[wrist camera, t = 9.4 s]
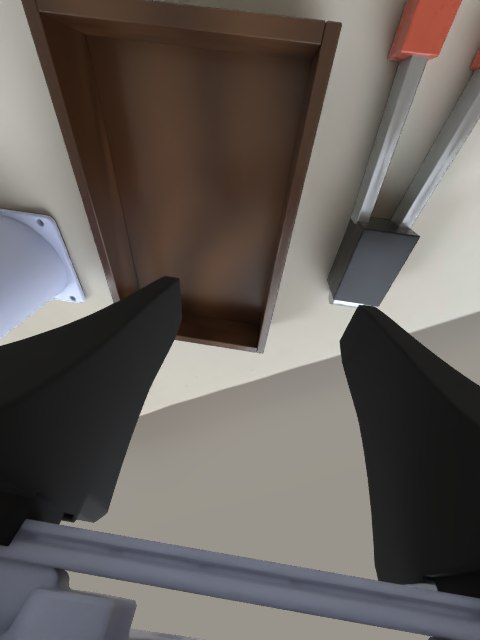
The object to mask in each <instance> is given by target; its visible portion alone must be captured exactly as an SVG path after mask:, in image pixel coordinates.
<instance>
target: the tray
mask: <svg viewBox="0 0 480 640" xmlns="http://www.w3.org/2000/svg"><path fill="white" fill-rule="evenodd" d="M21 1H22V4H23V8H24V11H25V14H26V17H27V21H28V24H29V27H30V31H31V34H32V37H33V40H34V44H35V47H36V50H37V53H38V57H39V60H40V63H41V67H42V70H43V73H44V76H45V80H46V83H47V86H48V89H49V93H50V96H51V99H52V103H53V106H54V109H55V112H56V116H57V119H58V122H59V125H60V129H61V132H62V135H63V139H64V142H65V145H66V148H67V152H68V155H69V158H70V161H71V165H72V168H73V171H74V175H75V178H76V181H77V184H78V188H79V191H80V194H81V197H82V201H83V204H84V207H85V211H86V214H87V217H88V220H89V224H90V227H91V230H92V233H93V237H94V240H95V243H96V247H97V250H98V253H99V256H100V260H101V263H102V266H103V269H104V273H105V276H106V279H107V282H108V286H109V289H110V292H111V296H112V299H113V302H114V303H115V302H117V301H119V300H121V299H123V298H125V297H127V296H129V295H131V294H132V293H134V292H136V291H138V290H140V289H141V288H143V287H145V286H147V285H148V284H150V283H152V282H154V281H156V280H157V279H159V278H161V277H163V276H169V277H176V278H179V279H180V292H181V305H182V320H181V323H180V326H179V329H178V332H177V335H176V338H175V340H179V341H186V342H192V343H198V344H205V345H211V346H217V347H224V348H230V349H236V350H243V351H249V352H257V353H262V354H263V352H264V348H265V344H266V340H267V336H268V331H269V327H270V323H271V319H272V315H273V311H274V306H275V302H276V298H277V294H278V290H279V286H280V281H281V277H282V273H283V269H284V265H285V261H286V256H287V252H288V248H289V244H290V240H291V235H292V231H293V227H294V223H295V219H296V215H297V210H298V206H299V202H300V198H301V194H302V190H303V185H304V181H305V177H306V173H307V169H308V165H309V160H310V156H311V152H312V148H313V144H314V140H315V135H316V131H317V127H318V123H319V119H320V115H321V110H322V106H323V102H324V98H325V94H326V90H327V85H328V81H329V77H330V73H331V69H332V65H333V60H334V56H335V52H336V48H337V44H338V39H339V35H340V31H341V27H342V23H341V22H333V21H327V22H326V23H325V20H317V19H309V18H300V17H291V16H282V15H273V14H265V13H256V12H247V11H238V10H230V9H221V8H212V7H203V6H195V5H186V4H177V3H168V2H159V1H151V0H21Z"/></svg>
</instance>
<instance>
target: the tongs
mask: <svg viewBox="0 0 480 640" xmlns="http://www.w3.org/2000/svg"><path fill="white" fill-rule="evenodd" d="M461 1H462V0H407V2H406V5H405V8H404V11H403V14H402V17H401V20H400V23H399V26H398V29H397V32H396V35H395V37H394V40H393V43H392V46H391V49H390V52H389V55H388V60H392V61H400V63H399V66H398V69H397V72H396V75H395V78H394V82H393V85H392V88H391V91H390V94H389V98H388V101H387V104H386V107H385V110H384V114H383V117H382V120H381V123H380V126H379V130H378V133H377V136H376V139H375V142H374V145H373V149H372V152H371V155H370V158H369V161H368V165H367V168H366V171H365V174H364V177H363V181H362V184H361V187H360V190H359V193H358V196H357V200H356V203H355V206H354V209H353V212H352V216H351V219H350V222H349V224H348V227H347V229H346V232H345V235H344V237H343V240H342V242H341V245H340V248H339V250H338V253H337V255H336V258H335V261H334V263H333V266H332V268H331V271H330V274H329V276H328V279H327V282H328V285H329V288H330V291H329V303H330V304H333V305H340V306H347V307H353V308H357V307H358V305H371V306H379V305H380V303H381V302H382V300H383V298H384V297H385V295H386V293H387V292H388V290H389V288H390V287H391V285H392V283H393V282H394V280H395V278H396V277H397V275H398V273H399V271H400V270H401V268H402V266H403V265H404V263H405V261H406V260H407V258H408V256H409V255H410V253H411V251H412V250H413V248H414V246H415V245H416V243H417V241H418V240H419V238H420V236H419V235H418V234H416V233H415V232H414V231H412V230H411V229H410V228H411V226H412V224H413V223H414V221H415V220H416V218H417V217H418V215H419V213H420V212H421V210H422V209H423V207H424V205H425V204H426V202H427V201H428V199H429V197H430V196H431V194H432V193H433V191H434V190H435V188H436V186H437V185H438V183H439V182H440V180H441V178H442V177H443V175H444V174H445V172H446V171H447V169H448V167H449V166H450V164H451V163H452V161H453V159H454V158H455V156H456V155H457V153H458V152H459V150H460V148H461V147H462V145H463V144H464V142H465V140H466V139H467V137H468V136H469V134H470V132H471V131H472V129H473V128H474V126H475V125H476V123H477V121H478V120H479V118H480V49H479V51H478V53H477V55H476V57H475V59H474V61H473V63H472V65H471V67H470V70H475V71H474V73H473V75H472V77H471V78H470V80H469V82H468V84H467V86H466V87H465V89H464V91H463V93H462V94H461V96H460V98H459V100H458V101H457V103H456V105H455V107H454V109H453V110H452V112H451V114H450V116H449V117H448V119H447V121H446V123H445V125H444V126H443V128H442V130H441V132H440V133H439V135H438V137H437V139H436V140H435V142H434V144H433V146H432V148H431V149H430V151H429V153H428V155H427V156H426V158H425V160H424V162H423V163H422V165H421V167H420V169H419V171H418V172H417V174H416V176H415V178H414V179H413V181H412V183H411V185H410V186H409V188H408V190H407V192H406V194H405V195H404V197H403V199H402V201H401V202H400V204H399V206H398V208H397V210H396V211H395V213H394V215H393V217H392V218H391V220H388V219H381V218H374V217H370V216H371V214H372V211H373V208H374V205H375V203H376V200H377V197H378V194H379V192H380V189H381V186H382V183H383V181H384V178H385V175H386V172H387V170H388V167H389V164H390V161H391V159H392V156H393V153H394V150H395V148H396V145H397V142H398V139H399V137H400V134H401V131H402V128H403V126H404V123H405V120H406V117H407V115H408V112H409V109H410V106H411V104H412V101H413V98H414V95H415V93H416V90H417V87H418V84H419V82H420V79H421V76H422V73H423V71H424V68H425V65H426V62H427V61H428V60H430V59H432V58H435V57H437V56H438V55H439V53H440V50H441V48H442V46H443V43H444V41H445V39H446V36H447V34H448V32H449V29H450V27H451V25H452V22H453V20H454V18H455V15H456V13H457V11H458V8H459V6H460V4H461Z"/></svg>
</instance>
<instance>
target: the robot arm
mask: <svg viewBox="0 0 480 640" xmlns="http://www.w3.org/2000/svg"><path fill="white" fill-rule="evenodd" d="M41 221H42V222H43V223H42V222H41ZM51 299H57V300H63V301H70V302H76V303H83V302H84V301H85V300H86V298H85V295H84V293H83V290H82V288H81V285H80V283H79V280H78V278H77V275H76V273H75V270H74V267H73V265H72V262H71V260H70V257H69V255H68V252H67V250H66V247H65V245H64V242H63V240H62V237H61V235H60V232H59V229H58V227H57V224H56V222H55V220H54V219H53V218H51V217H50V216H47V215H41V214H34V213H27V212H20V211H13V210H6V209H0V339H1V338H2V337H4V336H5V335H6V334H8V333H9V332H10V331H11V330H13V329H14V328H15V327H17V326H18V325H19V324H20V323H22V322H23V321H24V320H26V319H27V318H28V317H30V316H31V315H32V314H33V313H35V312H36V311H37V310H39V309H40V308H41V307H42V306H44V305H45V304H46V303H48V302H49V301H50V300H51ZM181 320H182V305H181V292H180V279H179V278H176V277H169V276H163V277H161V278H159V279H157V280H156V281H154V282H152V283H150V284H148V285H147V286H145V287H143V288H141V289H140V290H138V291H136V292H134V293H132V294H131V295H129V296H127V297H125V298H123V299H121V300H119V301H117V302H115V303H113V304H112V305H110V306H108V307H106V308H104V309H102V310H100V311H97V312H95V313H93V314H91V315H89V316H86V317H84V318H82V319H79V320H77V321H74V322H72V323H69V324H67V325H64V326H61V327H59V328H56V329H53V330H50V331H47V332H44V333H41V334H38V335H35V336H32V337H29V338H26V339H23V340H20V341H16V342H13V343H9V344H6V345H3V346H0V640H204V639H197V638H191V637H184V636H177V635H171V634H163V633H157V632H150V631H143V630H137V629H130V627H131V623H132V620H133V617H134V613H135V610H136V606H137V605H136V602H135V601H134V600H130V599H125V598H121V597H116V596H111V595H106V594H101V593H94V592H87V591H79V590H71V589H70V587H69V575H68V573H67V572H66V571H65V570H68V571H73V572H78V573H84V574H89V575H95V576H100V577H106V578H111V579H117V580H123V581H128V582H134V583H140V584H145V585H150V586H156V587H161V588H167V589H172V590H178V591H183V592H189V593H194V594H200V595H206V596H212V597H217V598H222V599H228V600H233V601H239V602H244V603H250V604H256V605H261V606H266V607H272V608H277V609H283V610H289V611H295V612H300V613H306V614H311V615H316V616H322V617H327V618H333V619H338V620H344V621H350V622H355V623H361V624H367V625H372V626H377V627H383V628H388V629H394V630H400V631H405V632H410V633H416V634H421V635H427V636H433V637H430V638H429V639H428V640H480V386H479V385H477V384H476V383H474V382H473V381H471V380H470V379H468V378H467V377H465V376H464V375H462V374H461V373H460V372H458V371H457V370H455V369H454V368H452V367H451V366H450V365H448V364H447V363H446V362H444V361H443V360H442V359H440V358H439V357H437V356H436V355H435V354H434V353H432V352H431V351H430V350H429V349H427V348H426V347H425V346H423V345H422V344H421V343H419V342H418V341H417V340H416V339H415V338H414V337H412V336H411V335H410V334H409V333H408V332H406V331H405V330H404V329H403V328H401V327H400V326H399V325H398V324H397V323H395V322H394V321H393V320H392V319H391V318H389V317H388V316H387V315H385V314H384V313H383V312H382V311H380V310H379V309H377V308H376V307H373V306H366V305H358V307H357V309H356V311H355V313H354V315H353V317H352V319H351V321H350V322H349V324H348V326H347V328H346V330H345V332H344V334H343V336H342V338H341V340H340V349H341V357H342V363H343V367H344V371H345V375H346V378H347V382H348V385H349V389H350V392H351V396H352V399H353V402H354V406H355V410H356V413H357V417H358V421H359V426H360V431H361V437H362V443H363V449H364V455H365V463H366V470H367V477H368V486H369V495H370V504H371V514H372V528H373V542H374V561H375V568H376V572H377V577H378V581H376V580H371V579H365V578H360V577H354V576H348V575H342V574H336V573H331V572H325V571H320V570H314V569H308V568H303V567H297V566H291V565H286V564H280V563H274V562H269V561H263V560H256V559H251V558H245V557H240V556H234V555H228V554H223V553H217V552H211V551H205V550H200V549H194V548H189V547H183V546H177V545H172V544H166V543H160V542H155V541H149V540H143V539H138V538H132V537H126V536H121V535H115V534H109V533H103V532H98V531H92V530H86V529H80V528H75V527H69V526H64V525H59V524H60V522H61V520H63V521H69V522H75V521H76V520H82V521H88V522H93V523H94V522H96V521H97V520H99V519H100V518H102V517H103V516H104V515H105V514H106V513H107V512H108V509H109V505H110V502H111V499H112V496H113V492H114V489H115V486H116V483H117V479H118V476H119V473H120V469H121V467H122V463H123V460H124V457H125V455H126V451H127V449H128V446H129V443H130V440H131V437H132V434H133V432H134V429H135V426H136V423H137V420H138V418H139V415H140V412H141V410H142V407H143V405H144V402H145V399H146V397H147V394H148V392H149V389H150V387H151V385H152V383H153V381H154V379H155V377H156V375H157V373H158V371H159V369H160V367H161V365H162V363H163V361H164V359H165V357H166V355H167V354H168V352H169V350H170V348H171V346H172V344H173V342H174V340H175V338H176V335H177V332H178V329H179V326H180V323H181Z"/></svg>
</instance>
